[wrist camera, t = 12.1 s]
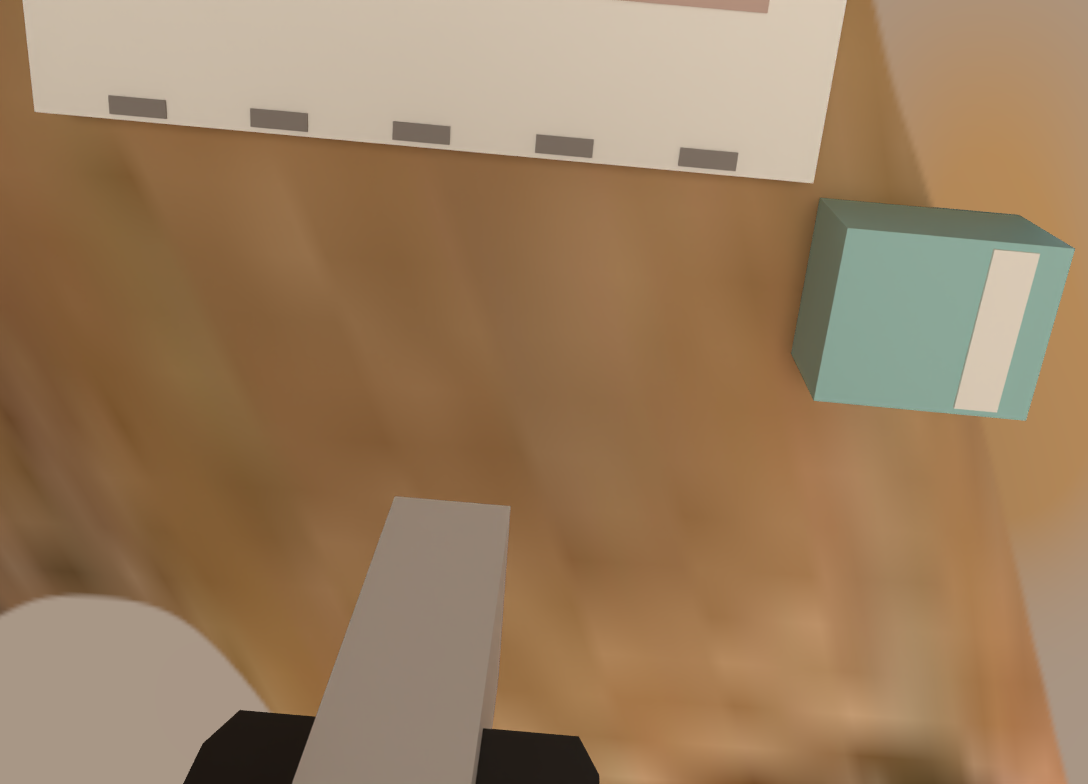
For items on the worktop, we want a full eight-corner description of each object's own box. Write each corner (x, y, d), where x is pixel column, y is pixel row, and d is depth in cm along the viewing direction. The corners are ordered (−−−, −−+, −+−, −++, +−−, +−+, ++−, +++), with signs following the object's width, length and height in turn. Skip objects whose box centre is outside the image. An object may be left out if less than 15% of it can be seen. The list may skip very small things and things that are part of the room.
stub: (790, 351, 33) (814, 401, 29) (818, 196, 31) (848, 229, 27) (978, 369, 33) (1027, 422, 29) (1019, 214, 31) (1076, 249, 27)
